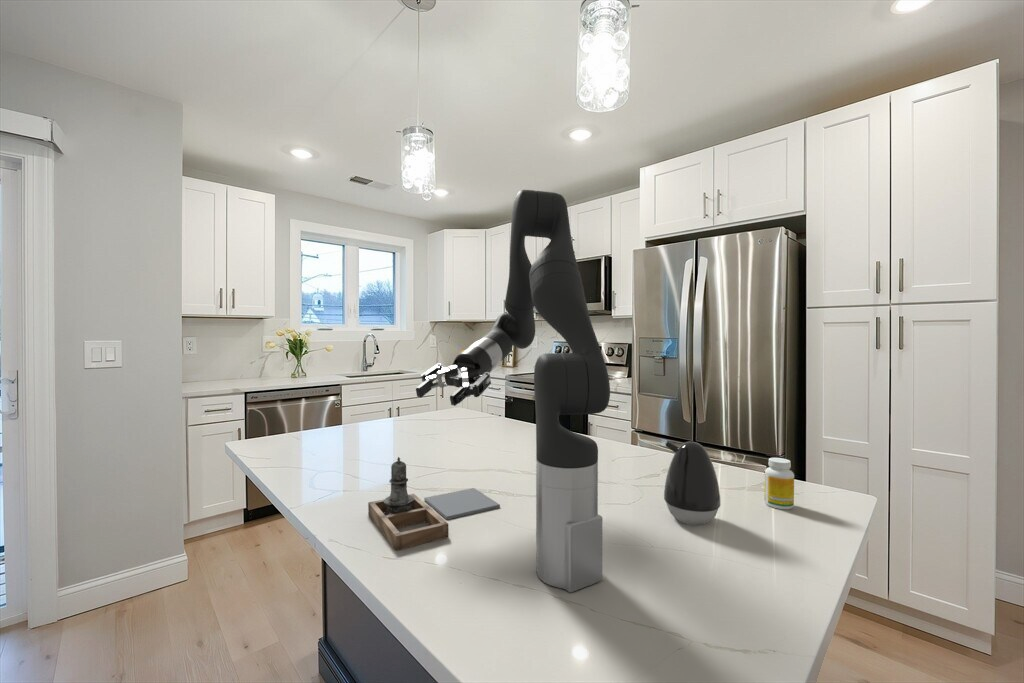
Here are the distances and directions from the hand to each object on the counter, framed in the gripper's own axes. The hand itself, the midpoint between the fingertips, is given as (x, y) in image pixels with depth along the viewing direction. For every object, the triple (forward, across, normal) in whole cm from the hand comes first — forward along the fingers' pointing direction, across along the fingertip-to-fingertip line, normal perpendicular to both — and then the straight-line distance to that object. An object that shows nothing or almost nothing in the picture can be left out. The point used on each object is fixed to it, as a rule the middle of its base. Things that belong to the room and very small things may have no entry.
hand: (434, 397), depth 90 cm
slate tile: (+2, +3, +25) cm, 25 cm away
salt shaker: (+13, -3, +21) cm, 25 cm away
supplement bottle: (-29, +62, +32) cm, 76 cm away
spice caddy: (+15, 0, +19) cm, 24 cm away
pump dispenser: (-13, +47, +26) cm, 55 cm away
